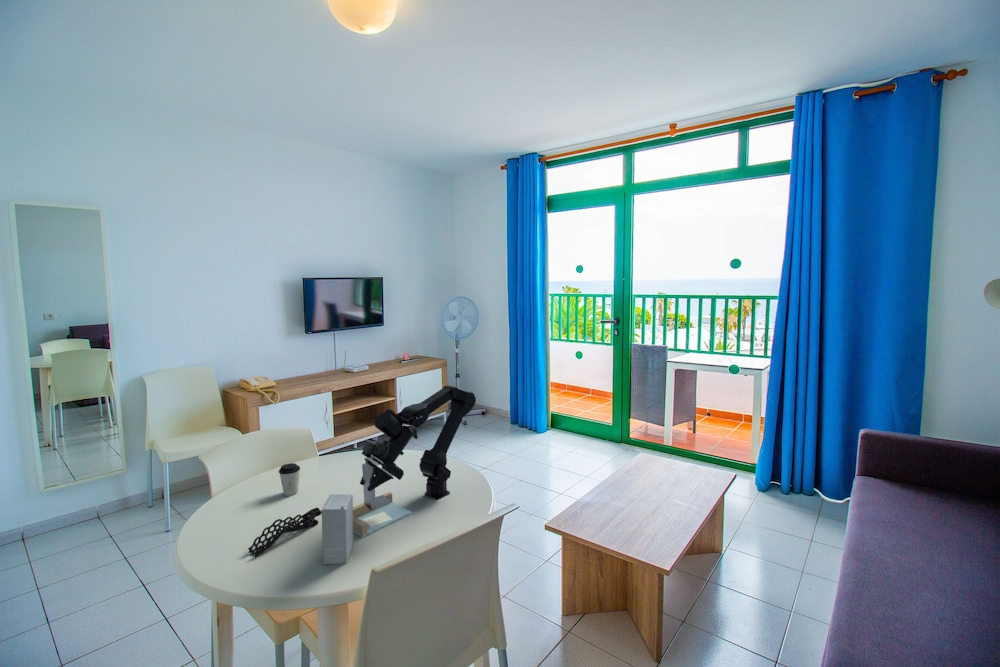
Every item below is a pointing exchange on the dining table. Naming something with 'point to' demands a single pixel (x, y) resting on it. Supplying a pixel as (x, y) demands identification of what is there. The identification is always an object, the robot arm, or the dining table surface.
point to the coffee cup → (290, 478)
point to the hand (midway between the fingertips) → (364, 487)
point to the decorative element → (285, 529)
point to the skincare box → (337, 529)
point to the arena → (377, 516)
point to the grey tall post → (369, 496)
